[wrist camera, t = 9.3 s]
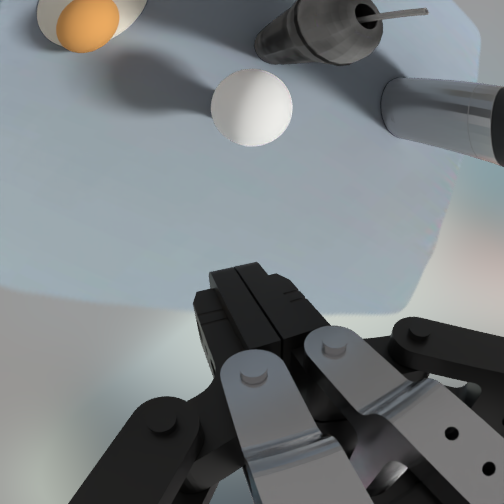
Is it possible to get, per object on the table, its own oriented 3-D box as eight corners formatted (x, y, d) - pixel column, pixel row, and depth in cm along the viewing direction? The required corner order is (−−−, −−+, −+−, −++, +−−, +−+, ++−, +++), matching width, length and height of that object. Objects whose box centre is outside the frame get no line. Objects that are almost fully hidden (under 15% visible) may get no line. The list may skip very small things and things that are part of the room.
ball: (123, 56, 22) (116, 24, 23) (122, 4, 17) (117, -21, 18) (60, 72, 20) (61, 39, 21) (49, 22, 15) (54, -6, 15)
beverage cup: (239, 16, 26) (359, -60, 9) (299, 19, 28) (439, -23, 11) (245, 77, 29) (377, 50, 12) (305, 76, 31) (453, 69, 14)
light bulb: (182, 95, 28) (207, 85, 19) (239, 68, 29) (287, 51, 19) (211, 150, 31) (247, 166, 22) (264, 122, 32) (319, 128, 23)
